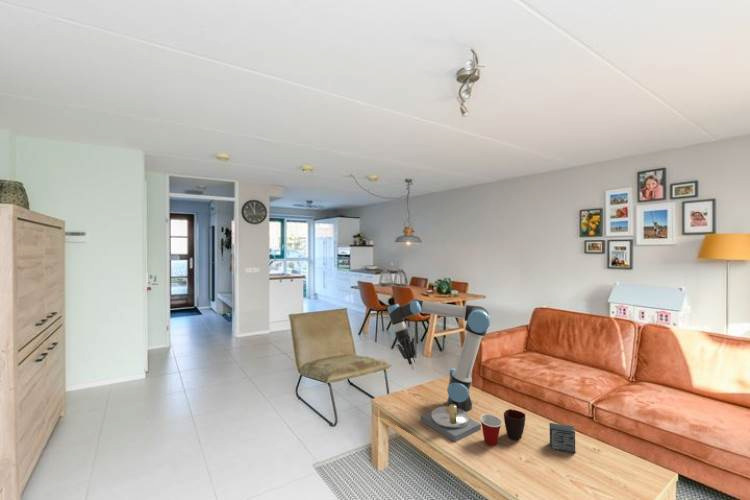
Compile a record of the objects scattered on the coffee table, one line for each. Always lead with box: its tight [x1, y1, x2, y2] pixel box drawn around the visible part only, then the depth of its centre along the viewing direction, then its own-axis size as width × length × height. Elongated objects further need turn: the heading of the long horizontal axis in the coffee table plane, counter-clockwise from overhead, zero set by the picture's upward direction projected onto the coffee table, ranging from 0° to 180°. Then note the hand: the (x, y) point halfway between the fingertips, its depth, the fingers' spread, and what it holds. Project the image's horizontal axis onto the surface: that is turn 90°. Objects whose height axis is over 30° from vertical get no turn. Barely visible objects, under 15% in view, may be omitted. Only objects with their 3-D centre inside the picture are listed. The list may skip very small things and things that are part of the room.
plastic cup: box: [479, 413, 503, 447], centre depth 176 cm, size 11×11×12 cm
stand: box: [419, 405, 482, 443], centre depth 193 cm, size 26×20×3 cm
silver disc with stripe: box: [431, 404, 470, 429], centre depth 193 cm, size 20×20×11 cm
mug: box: [503, 408, 526, 442], centre depth 182 cm, size 10×14×12 cm
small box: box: [549, 422, 576, 454], centre depth 171 cm, size 11×6×10 cm, turn 71°
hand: (414, 369), depth 205 cm, fingers closed
